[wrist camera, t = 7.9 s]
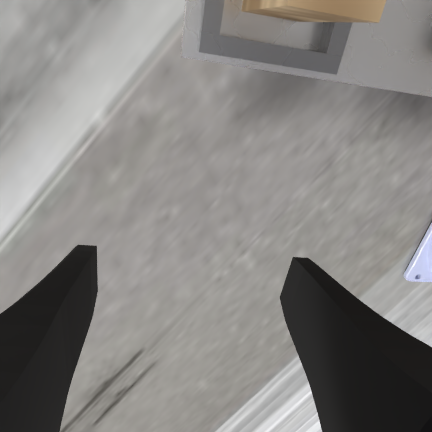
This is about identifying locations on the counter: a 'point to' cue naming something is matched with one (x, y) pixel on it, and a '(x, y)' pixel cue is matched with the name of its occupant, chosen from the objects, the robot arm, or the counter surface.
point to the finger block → (318, 10)
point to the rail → (318, 44)
